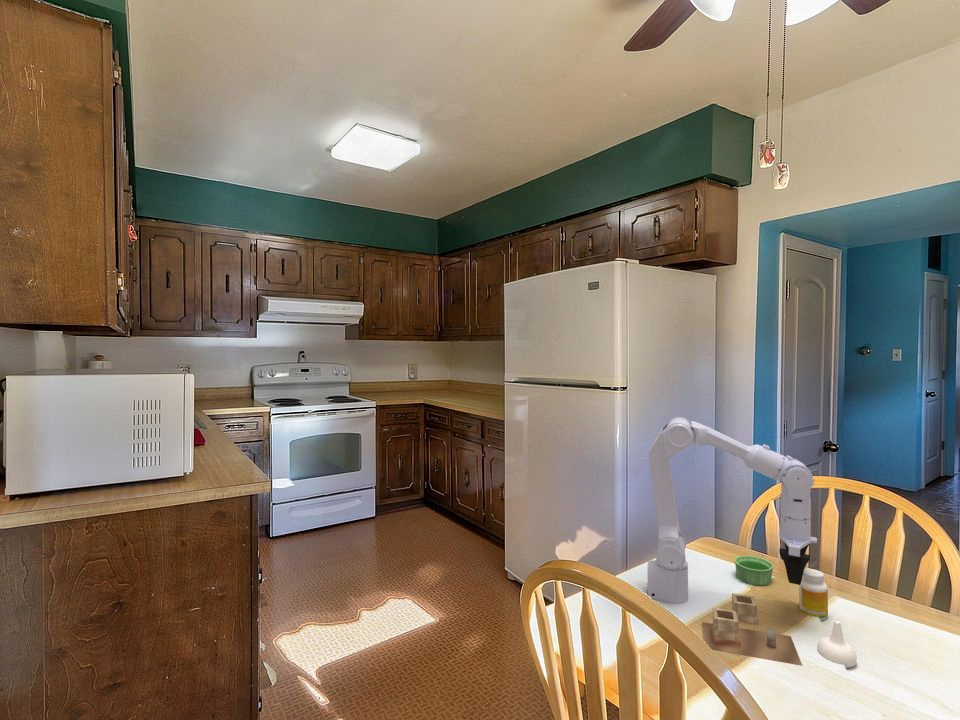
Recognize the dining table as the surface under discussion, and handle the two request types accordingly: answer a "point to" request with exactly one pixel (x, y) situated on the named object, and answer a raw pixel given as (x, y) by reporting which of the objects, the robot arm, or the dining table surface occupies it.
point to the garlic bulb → (837, 647)
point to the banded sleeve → (745, 608)
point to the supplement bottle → (813, 594)
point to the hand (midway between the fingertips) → (795, 576)
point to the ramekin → (753, 570)
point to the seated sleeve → (725, 627)
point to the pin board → (757, 645)
